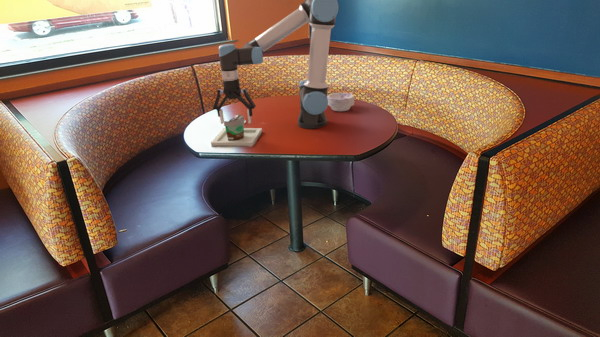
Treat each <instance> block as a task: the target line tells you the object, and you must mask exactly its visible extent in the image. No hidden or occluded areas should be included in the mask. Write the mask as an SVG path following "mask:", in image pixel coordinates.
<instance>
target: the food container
mask: <svg viewBox="0 0 600 337" xmlns="http://www.w3.org/2000/svg"><path fill="white" fill-rule="evenodd" d="M237 115H238V117H236V118H235V117H232V118H231V119H230V120H228V121H226V120H224V123H223V126H225V127H224V128H226V133H227V138H228V141H236V140H240V139H242V138H244V128H245V126H244V125H245V123H246V122H245V117H244V116H243V115H242V114H239V113H238V114H237ZM244 122H245V123H244Z"/></svg>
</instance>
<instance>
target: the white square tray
mask: <svg viewBox="0 0 600 337" xmlns="http://www.w3.org/2000/svg"><path fill="white" fill-rule="evenodd" d="M262 133H263V128H262V127H257V128H256V127H255V128H254V127H244V138H242V139H240V140H236V141H228V138H227V133H226V128H225V127H223V128H222V130H221V131H220V132H219V133H218V134H217V135H216V136H215V138H214V139H213V140H212V141H211V142H210V144H211V145H210V146H211V147H222V148H223V147H226V148H227V147H231V148H233V147H239V148H241V147H242V148H243V147H250V148H253V147H254V145H255V144H256V143H257V141H258V139H259V138H260V137H261V135H262Z"/></svg>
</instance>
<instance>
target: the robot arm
mask: <svg viewBox="0 0 600 337" xmlns="http://www.w3.org/2000/svg"><path fill="white" fill-rule="evenodd" d="M338 12H339V3H338V0H305V1H303V2H301V3H300V4H299V7H298V8H297V9H295V10H294V11H292V12H291V13H290V14H288V15H287V16H285V17H284V18H283V19H280V20H279V21H278V22H277V23H275V24H274V25H272V26H271V27H269V28H268V29H266V30H265V31H263V32H262V33H260V34H259V35H258V36H256V37H255V38H253V39H252V40H250V41H247V42H246V43H245V44H244V45H243V46H242V47H241V48H239V47H238V48H237V47H236V45H235V44H234V43H226V44H225V43H224V44H221V45H219V46H218V55H219V56H218V58H219V63H220V69H221V70H220V71H221V77H222V85H223V86H222V87H223V89H221V88H219V89H217V93H216V94H217V95H216V97H215V101H214V103H213V106H212V109H213V110H216V112H217V116H218V117H219V118H220V120H219V121H220V124H221V125H224V121H225V118H224V110H223V109H222V107H223V106H224V104H225V103H226V101H227V100H228V99H229V100H238V101H239V102H241V104H242V105H244V107H245V108H246V109H247V110H246V112H247V122H248V125H249V124H251V123H252V117H253V115H254V113H253V110H254V109H256V104H255V102H254V101H253V99H252V97H251V96H250V94H249V93H248V89H247V88H243V89H241V86H240V79H239V70H238V69H239V68H238V66H246V65H258V64H263V62H264V56H263V53H264V52H266V51H267V50H269V49H270V48H272V47H273V46H274V45H276V44H278V43H280V42H281V41H282V40H283V39H285V38H287V37H288V36H289V35H291V34H292V33H294V32H295V31H297V30H299V29H300V28H301V27H303V26H304V25H306V24H307V23H308V24H309V26H310V27H311V32H310V33H311V34H310V45H309V53H308V54H309V57H308V65H307V66H308V67H307V68H308V69H307V77H306V78H307V79H304V80H300V81H299V84H298V88H299V104H300V105H299V107H300V111H299V115H298V117H297V118H298V119H297V126H298V127H300V128H303V129H309V130H310V129H312V130H313V129H320V128H322V127H323V128H324V127H325V126H327V124H328V118H327V116H326V113H325V111H326V110H327V108H328V106H329V105H328V99H327V96H328V91H329V85H328V83H327V82H326V78H327V71H328V70H327V69H328V68H327V67H328V59H329V53H330V52H329V51H330V50H329V49H330V42H331V34H332V33H331V32H332V29H333V28H334V27H335V26H336V18H337V14H339V13H338ZM241 93H242V94H243V95H242V94H241ZM222 94H224V95H225V96H224V98H223V99H222V101H221V102H220V99H221V97H222ZM244 97H245V98H244ZM219 102H220V103H219Z"/></svg>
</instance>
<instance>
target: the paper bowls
mask: <svg viewBox="0 0 600 337" xmlns="http://www.w3.org/2000/svg"><path fill="white" fill-rule="evenodd" d="M327 99H328V106H329V107H330V108H331V110H332V111H335V112H346V111H349V110H350V109H351V107H353V106H354V105H355V95H354V94H352V93H349V92H334V93H330V94H329V93H328V94H327Z"/></svg>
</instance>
